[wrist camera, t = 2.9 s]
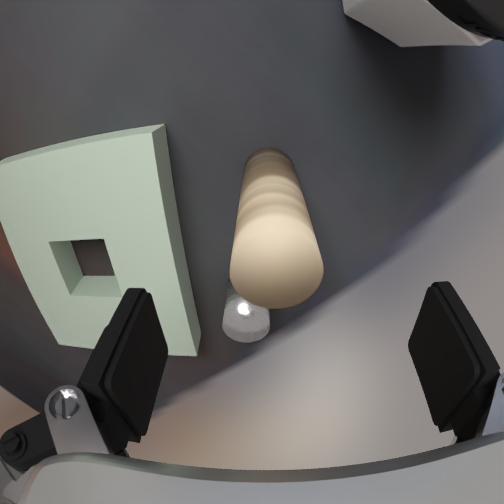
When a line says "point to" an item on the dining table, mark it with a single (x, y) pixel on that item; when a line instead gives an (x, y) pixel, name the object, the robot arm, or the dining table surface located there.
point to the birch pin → (274, 235)
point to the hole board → (100, 232)
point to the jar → (431, 20)
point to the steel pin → (244, 318)
